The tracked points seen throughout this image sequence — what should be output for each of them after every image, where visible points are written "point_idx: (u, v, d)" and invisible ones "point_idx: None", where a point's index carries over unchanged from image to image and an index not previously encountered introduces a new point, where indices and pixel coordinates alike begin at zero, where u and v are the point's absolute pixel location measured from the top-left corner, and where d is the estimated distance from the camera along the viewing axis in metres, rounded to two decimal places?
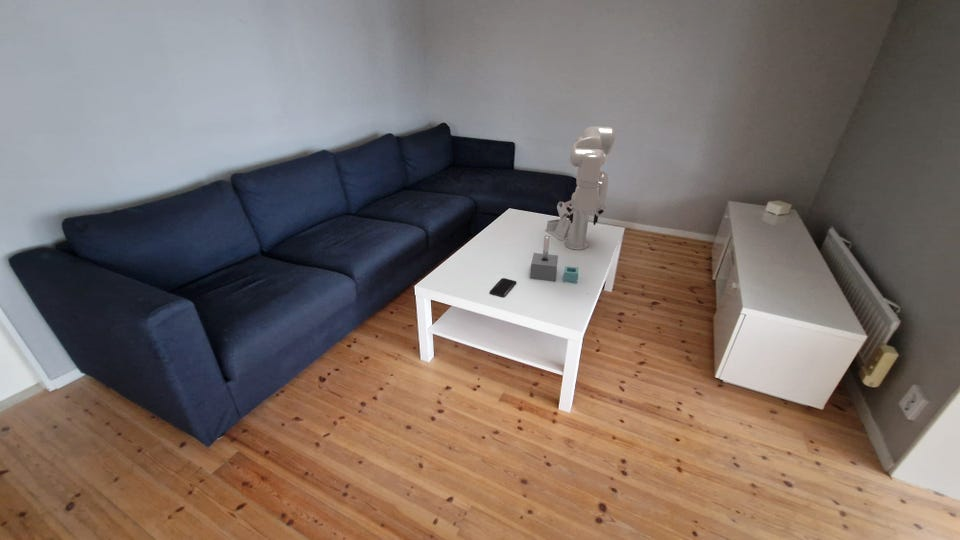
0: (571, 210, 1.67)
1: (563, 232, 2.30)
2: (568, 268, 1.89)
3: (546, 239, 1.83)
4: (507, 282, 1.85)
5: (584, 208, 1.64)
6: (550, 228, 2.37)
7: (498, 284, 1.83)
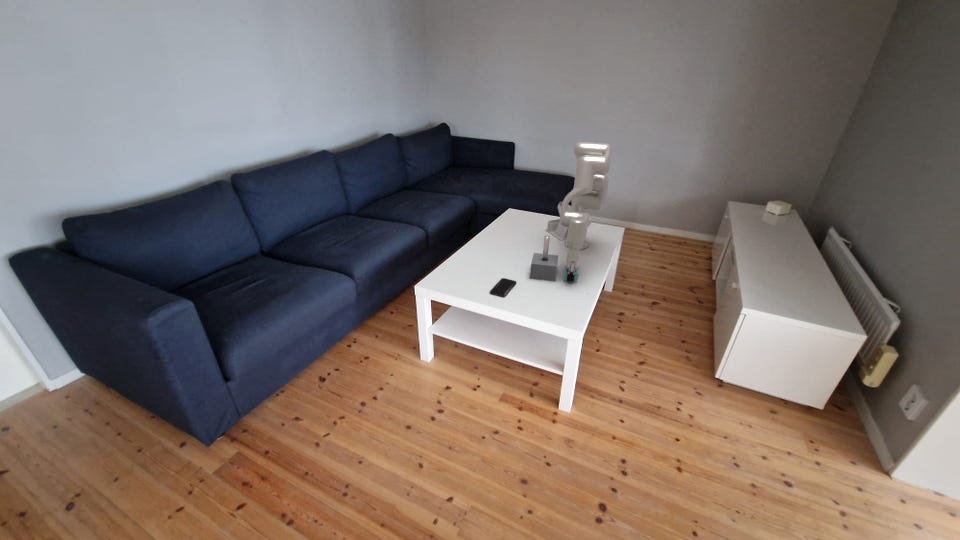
0: (573, 272, 1.82)
1: (563, 232, 2.30)
2: (568, 268, 1.89)
3: (546, 239, 1.83)
4: (507, 282, 1.85)
5: None
6: (550, 228, 2.37)
7: (498, 284, 1.83)
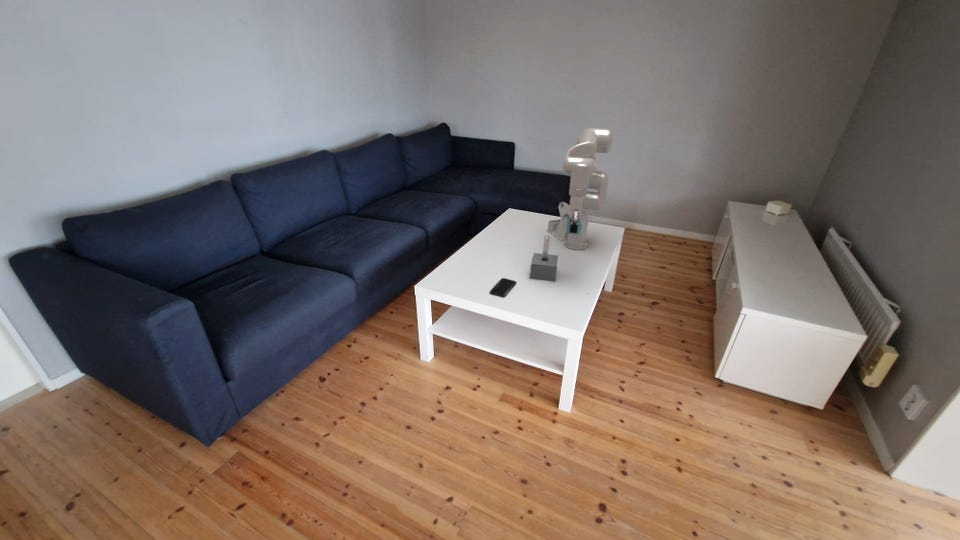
0: None
1: (563, 232, 2.30)
2: (571, 220, 1.78)
3: (546, 239, 1.83)
4: (507, 282, 1.85)
5: None
6: (551, 228, 2.37)
7: (498, 284, 1.83)
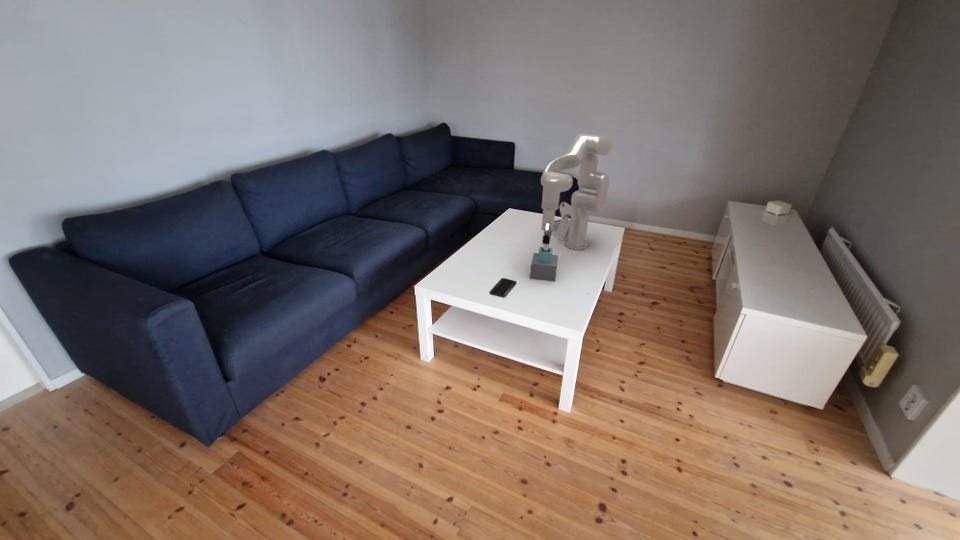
0: (549, 233, 1.77)
1: (563, 232, 2.30)
2: None
3: None
4: (507, 282, 1.85)
5: None
6: None
7: (498, 284, 1.83)
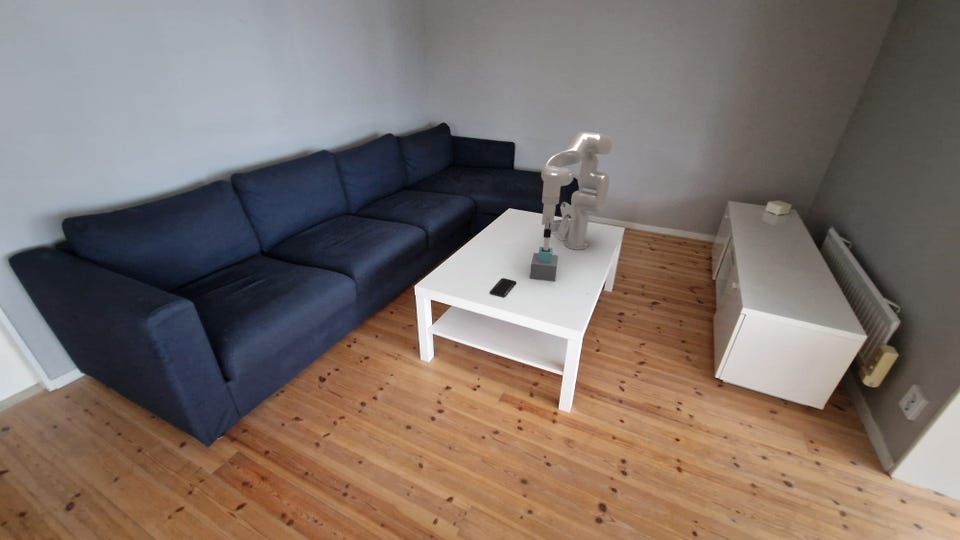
0: (549, 228, 1.79)
1: (564, 232, 2.30)
2: None
3: (546, 239, 1.83)
4: (507, 282, 1.85)
5: None
6: (552, 228, 2.37)
7: (498, 284, 1.83)
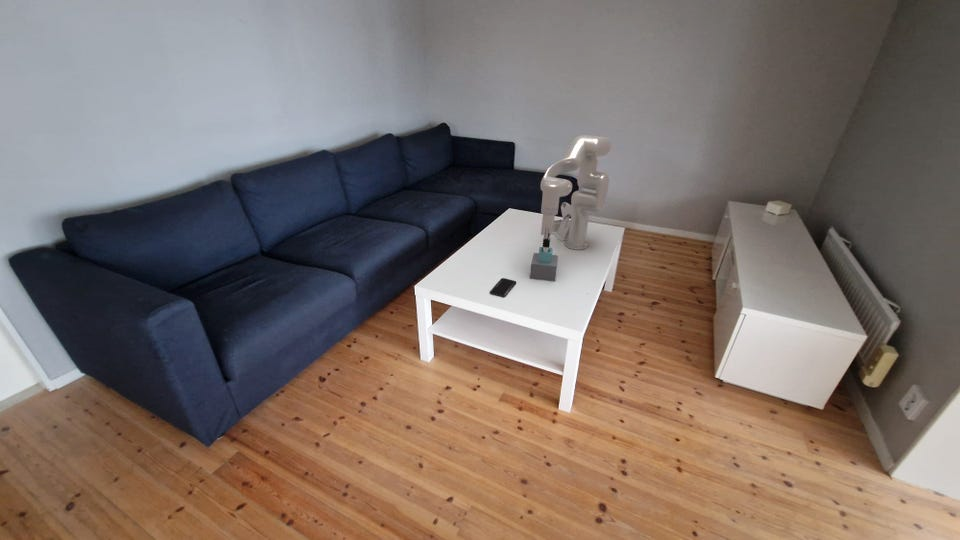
0: (548, 238, 1.82)
1: (564, 232, 2.30)
2: None
3: (545, 249, 1.86)
4: (507, 282, 1.85)
5: None
6: None
7: (498, 284, 1.83)
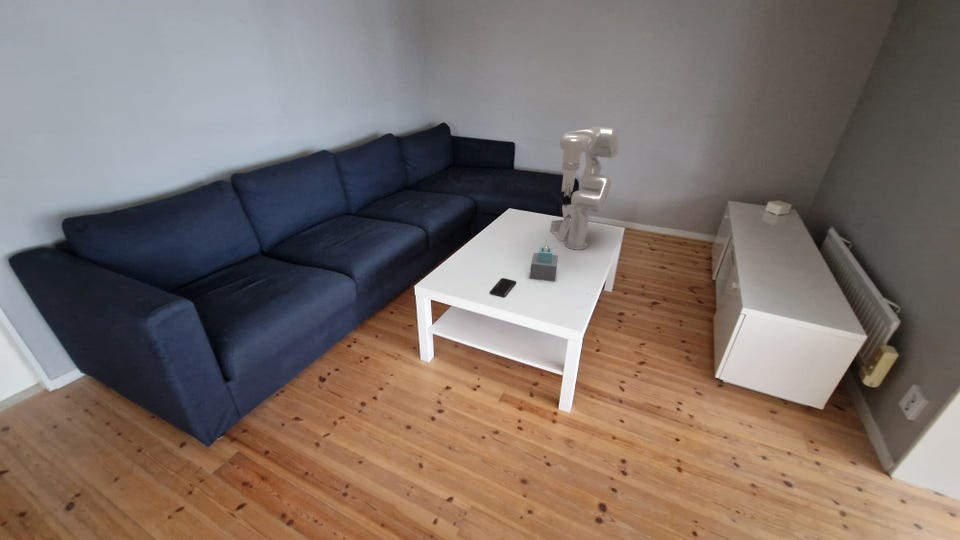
0: (569, 195, 1.83)
1: (564, 232, 2.29)
2: None
3: (545, 249, 1.86)
4: (507, 282, 1.85)
5: None
6: (553, 228, 2.37)
7: (498, 284, 1.83)
